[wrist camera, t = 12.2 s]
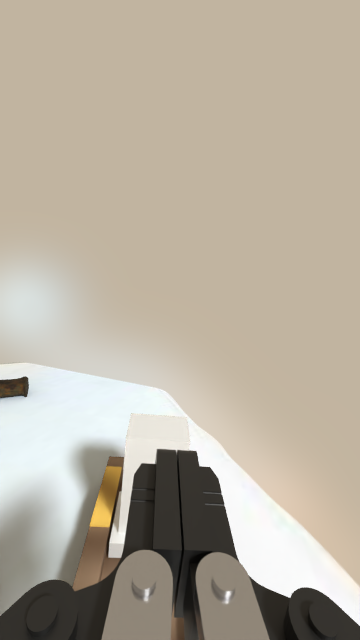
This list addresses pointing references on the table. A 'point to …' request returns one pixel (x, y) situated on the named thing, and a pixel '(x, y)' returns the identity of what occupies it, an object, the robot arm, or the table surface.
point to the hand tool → (14, 387)
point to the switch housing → (108, 538)
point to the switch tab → (144, 461)
